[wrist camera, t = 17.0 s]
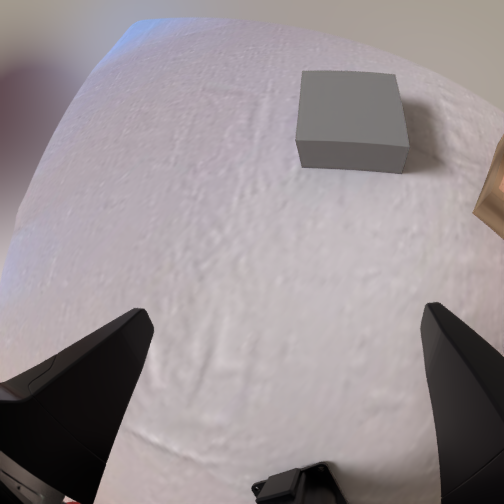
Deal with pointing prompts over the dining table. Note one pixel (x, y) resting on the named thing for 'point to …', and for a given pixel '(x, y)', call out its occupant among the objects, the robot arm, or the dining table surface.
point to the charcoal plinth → (351, 122)
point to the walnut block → (493, 194)
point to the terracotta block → (502, 185)
